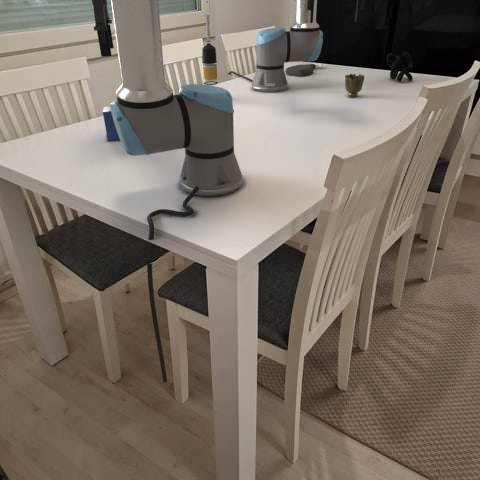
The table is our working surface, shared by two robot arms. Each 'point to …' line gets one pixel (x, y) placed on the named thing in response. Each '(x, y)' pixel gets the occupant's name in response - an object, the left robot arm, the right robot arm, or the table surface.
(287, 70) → the dark grey paddle
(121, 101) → the left robot arm
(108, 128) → the bar
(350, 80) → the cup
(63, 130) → the table surface
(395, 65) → the squiggle
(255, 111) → the table surface
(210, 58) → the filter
